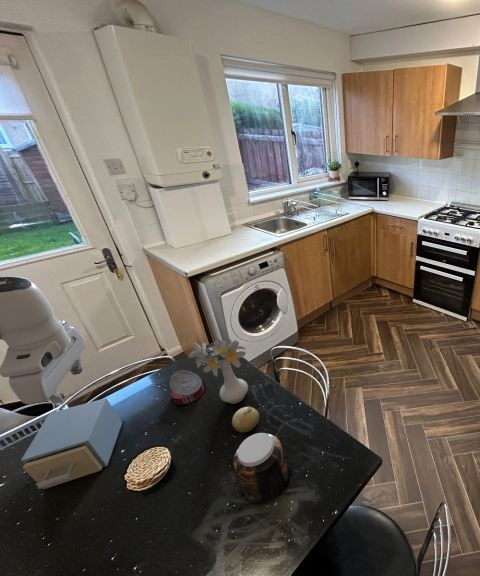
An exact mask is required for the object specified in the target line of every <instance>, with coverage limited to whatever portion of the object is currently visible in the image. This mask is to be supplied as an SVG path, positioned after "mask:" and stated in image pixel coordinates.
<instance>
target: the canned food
mask: <svg viewBox="0 0 480 576" xmlns="http://www.w3.org/2000/svg"><path fill="white" fill-rule="evenodd" d="M168 384H169V389H170V396H171V398H172V400H173V402H174V403H175V404H176V405H187V404H189V403H193V402H194V401H197V399H199V398H200V397H201V396H202V395H203V393H204V391H205V386H204V384H203V381H202V378H201V376H199V375H198V374H197V373H196V372H193V371H191V370H186V369H180V370H177V371H174V372H173V374H172V375H171V376H170V379H169V383H168Z"/></svg>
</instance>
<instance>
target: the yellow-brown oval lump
mask: <svg viewBox="0 0 480 576" xmlns="http://www.w3.org/2000/svg"><path fill="white" fill-rule="evenodd" d="M259 421H260V413H259V412H258V410H257V409H256V408H254V407H252V406H250V405H249V404H248V405H247V406H244V407H241V408H239V409H238V410H237V411H236V412H235V413H234V414H233V416H232V419H231V425H232V428H233V430H235V431H236V432H238V433H248V432H251V431H252V430H253V429H254V428H255V427H256V426H257V425H258V423H259Z"/></svg>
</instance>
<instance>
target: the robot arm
mask: <svg viewBox="0 0 480 576" xmlns="http://www.w3.org/2000/svg"><path fill="white" fill-rule="evenodd" d="M0 340H1V341H3V342H5V344H6V345H7V346H8V347H7V349H6V353H5V357H4V358H3V360H2V363H1V365H0V376H1V377H2V378H8V384H9V387H10V389H11V390H12V392H13V393H14V394H15V396H16V397H17V398H18V399H19V400H20V401H21V402H22V403H23V404H25V405H35V404H40V403H45V402H47V401H49V400H50V402H51V404H56V405H57V404H61V403H63V401H64V399H65V397H66V396H65V395H64V393H63V392H58V390H57V389H58V387H59V386H60V384H61V383H62V381H63V380H64V379H65V377H66V376H67V374H68V373H69V372H70V373H71V375H73V376H75V375H80V374H81V373H82V372H83V371H84V368H83V366H82V359H81V354H82V353H83V351H84V350H85V348H86V347H87V342H86V340H85V338H84V336H83V335H82V334H81V333H80V331H79V330H78V329H77V328H76V327H74V326H72V324H71V323H70V322H69V321H66V320H61V321H60V320H58V319H57V317H56V316H55V313H54V309H53V307H52V305H51V303H50V302H49V300H48V299H47V297H46V296H45V294H44V293H43V292H42V290H41V289H40V288H39V287H38V286H37V284H35V283H34V282H33V281H31V280H29V279H28V278H25V277H22V276H16V275H15V276H14V275H5V276H0ZM57 392H58V393H57Z"/></svg>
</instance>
